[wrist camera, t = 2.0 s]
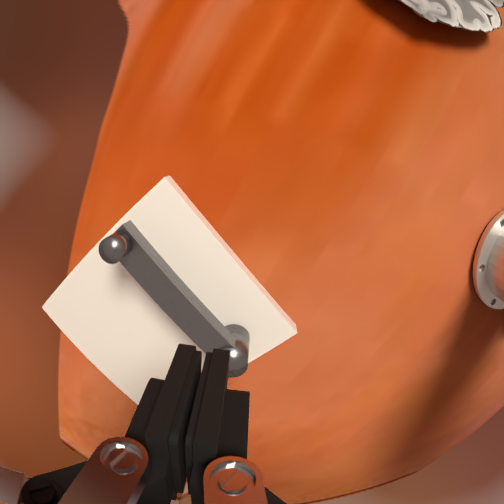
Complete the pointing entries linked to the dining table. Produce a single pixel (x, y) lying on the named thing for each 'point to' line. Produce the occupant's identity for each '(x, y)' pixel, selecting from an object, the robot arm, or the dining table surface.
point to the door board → (147, 310)
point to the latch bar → (175, 296)
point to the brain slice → (460, 13)
